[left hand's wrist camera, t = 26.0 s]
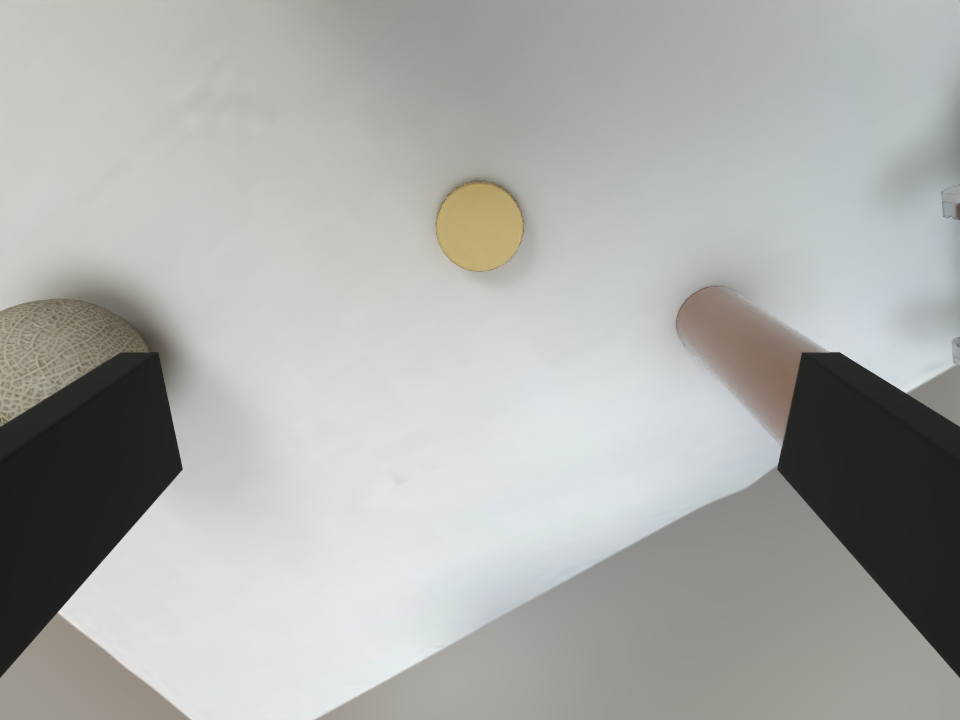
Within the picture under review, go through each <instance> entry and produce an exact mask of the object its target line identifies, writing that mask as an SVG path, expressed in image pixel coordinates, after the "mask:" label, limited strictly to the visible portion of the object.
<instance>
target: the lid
mask: <svg viewBox="0 0 960 720" xmlns="http://www.w3.org/2000/svg"><path fill="white" fill-rule="evenodd" d="M441 206H442V207H441V209H440V211H438V213H437V215H438V218H437V221H436V235H437V238H438V241H439V244H440V246H441V248H442V250H443V252H444V253H445V254H446V256H447V257H448V258H449V259H450V260H451V261H452V262H454V263H455V264H456V265H458V266H460V267H462V268H464V269H467V270H471V271H488V270H492V269H495V268H497V267H499V266H501V265H503V264H504V263H506V262H507V261H508V260H509V259H510V258H512V256H513V255H514V254H515V252H516V251H517V250H518V247H519V245H520V242H521V241H522V240H521V239H522V234H523V232H524V230H523V222H524V221H523V219H522V216H521V210H520V209H519V208H518V206H517V201H516V200H514V199H513V198H512V196H511V193H510V192H509V193H508V192H506V191H505V190H504V189H503V187H502V186H501V187H499V186H497V185H495V184H494V183H493V182H492V183H488V182H484V180H483V182H475V181H473V182H471V183H468V184H465V183H464V184H463V185H462V186H460V187H459V188H455V189H454V191H453V192H452V193H451V194H450V195H449V194H448V195H447V198H446V200H445V201H444V202H442V204H441Z"/></svg>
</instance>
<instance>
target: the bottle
mask: <svg viewBox="0 0 960 720" xmlns="http://www.w3.org/2000/svg"><path fill="white" fill-rule="evenodd" d="M676 327H677V333H678V336H679V338H680V340H681V341H682V343H683V344H684V345H685V346H686V347H687V348H688V349H689V350H690V351H691V352H692V353H693V354H694V356H695V357H696V358H697V359H698V360H699V361H700V362H701V363H702V364H703V365H704V366H705V367H706V368H707V369H708V370H709V371H710V372H711V373H712V374H713V376H714V377H715V378H716V379H717V380H718V381H719V382H720V383H721V384H722V385H723V386H724V387H725V388H726V389H727V390H728V391H729V392H730V393H731V394H732V396H733V397H734V398H735V399H736V400H737V401H738V402H739V403H740V404H741V405H742V406H743V407H744V408H745V409H746V410H747V411H748V412H749V413H750V414H751V416H752V417H753V418H754V419H755V420H756V421H757V422H758V423H759V424H760V425H761V426H762V427H763V428H764V429H765V430H766V431H767V432H768V433H769V434H770V436H771V437H772V438H773V439H774V440H775V441H776V442H777V443H778V444H779V445H780V446H781V447H782V445H783V440H784V435H785V430H786V426H787V421H788V416H789V411H790V407H791V402H792V397H793V392H794V388H795V383H796V378H797V373H798V369H799V364H800V359H801V354H802V352H830V351H828V350H827V349H825V348H823V347H822V346H820V345H819V344H817V343H816V342H814V341H812V340H811V339H809V338H808V337H806V336H804V335H803V334H801V333H800V332H798V331H797V330H795V329H793V328H792V327H790V326H789V325H787V324H786V323H784V322H782V321H781V320H779V319H778V318H776V317H774V316H773V315H771V314H770V313H768V312H767V311H765V310H763V309H762V308H760V307H759V306H757V305H756V304H754V303H752V302H751V301H749V300H748V299H746V298H745V297H743V296H741V295H740V294H738V293H737V292H735V291H733V290H731V289H729V288H726V287H720V286H714V287H708V288H705V289H702V290H700V291H698V292H696V293H694V294H693V295H692V296H690V297H689V298H688V299H687V300H686V301H685V303H684V304H683V305H682V307H681V309H680V311H679V313H678V317H677V322H676Z"/></svg>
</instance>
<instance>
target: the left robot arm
mask: <svg viewBox="0 0 960 720" xmlns="http://www.w3.org/2000/svg"><path fill="white" fill-rule="evenodd" d="M182 470H183V468H182V464H181V459H180V454H179V449H178V445H177V440H176V435H175V430H174V426H173V421H172V416H171V411H170V407H169V402H168V397H167V392H166V388H165V383H164V378H163V373H162V369H161V364H160V359H159V354H158V352H120V353H119V354H117V355H115V356H114V357H112V358H111V359H109V360H107V361H106V362H104V363H103V364H101V365H99V366H98V367H96V368H94V369H93V370H91V371H90V372H88V373H86V374H85V375H83V376H82V377H80V378H78V379H77V380H75V381H73V382H72V383H70V384H69V385H67V386H65V387H64V388H62V389H61V390H59V391H57V392H56V393H54V394H52V395H51V396H49V397H48V398H46V399H44V400H43V401H41V402H40V403H38V404H36V405H35V406H33V407H31V408H30V409H28V410H27V411H25V412H23V413H22V414H20V415H19V416H17V417H15V418H14V419H12V420H10V421H9V422H7V423H6V424H4V425H2V426H1V427H0V677H1V676H2V675H3V674H4V673H5V672H6V671H7V669H8V668H9V667H10V666H11V665H12V664H13V663H14V661H15V660H16V659H17V658H18V657H19V656H20V655H21V653H22V652H23V651H24V650H25V649H26V648H27V647H28V645H29V644H30V643H31V642H32V641H33V640H34V639H35V637H36V636H37V635H38V634H39V633H40V632H41V631H42V629H43V628H44V627H45V626H46V625H47V624H48V623H49V621H50V620H51V619H52V618H53V617H54V616H55V615H56V613H57V612H58V611H59V610H60V609H61V608H62V607H63V605H64V604H65V603H66V602H67V601H68V600H69V599H70V597H71V596H72V595H73V594H74V593H75V592H76V591H77V589H78V588H79V587H80V586H81V585H82V584H83V583H84V581H85V580H86V579H87V578H88V577H89V576H90V575H91V573H92V572H93V571H94V570H95V569H96V568H97V567H98V566H99V564H100V563H101V562H102V561H103V560H104V559H105V558H106V556H107V555H108V554H109V553H110V552H111V551H112V550H113V548H114V547H115V546H116V545H117V544H118V543H119V542H120V540H121V539H122V538H123V537H124V536H125V535H126V534H127V532H128V531H129V530H130V529H131V528H132V527H133V526H134V524H135V523H136V522H137V521H138V520H139V519H140V518H141V516H142V515H143V514H144V513H145V512H146V511H147V510H148V508H149V507H150V506H151V505H152V504H153V503H154V502H155V500H156V499H157V498H158V497H159V496H160V495H161V494H162V492H163V491H164V490H165V489H166V488H167V487H168V486H169V484H170V483H171V482H172V481H173V480H174V479H175V478H176V476H177V475H178V474H179V473H180V472H181V471H182ZM777 470H778V471H779V472H780V473H781V474H782V475H783V476H784V478H785V479H786V480H787V481H788V482H789V483H790V484H791V486H792V487H793V488H794V489H795V490H796V491H797V492H798V494H799V495H800V496H801V497H802V498H803V499H804V500H805V502H806V503H807V504H808V505H809V506H810V507H811V508H812V510H813V511H814V512H815V513H816V514H817V515H818V516H819V518H820V519H821V520H822V521H823V522H824V523H825V524H826V526H827V527H828V528H829V529H830V530H831V531H832V532H833V534H834V535H835V536H836V537H837V538H838V539H839V540H840V542H841V543H842V544H843V545H844V546H845V547H846V548H847V550H848V551H849V552H850V553H851V554H852V555H853V556H854V557H855V559H856V560H857V561H858V562H859V563H860V564H861V565H862V567H863V568H864V569H865V570H866V571H867V572H868V573H869V575H870V576H871V577H872V578H873V579H874V580H875V581H876V583H877V584H878V585H879V586H880V587H881V588H882V589H883V591H884V592H885V593H886V594H887V595H888V596H889V597H890V599H891V600H892V601H893V602H894V603H895V604H896V605H897V607H898V608H899V609H900V610H901V611H902V612H903V613H904V615H905V616H906V617H907V618H908V619H909V620H910V621H911V623H912V624H913V625H914V626H915V627H916V628H917V629H918V631H919V632H920V633H921V634H922V635H923V636H924V637H925V639H926V640H927V641H928V642H929V643H930V644H931V645H932V647H933V648H934V649H935V650H936V651H937V652H938V653H939V654H940V656H941V657H942V658H943V659H944V660H945V661H946V663H947V664H948V665H949V666H950V667H951V668H952V669H953V671H954V672H955V673H956V674H957V675H958V676H959V677H960V427H959V426H958V425H956V424H954V423H953V422H951V421H950V420H948V419H946V418H945V417H943V416H941V415H940V414H938V413H937V412H935V411H933V410H932V409H930V408H929V407H927V406H925V405H924V404H922V403H920V402H919V401H917V400H916V399H914V398H912V397H911V396H909V395H908V394H906V393H904V392H903V391H901V390H899V389H898V388H896V387H895V386H893V385H891V384H890V383H888V382H887V381H885V380H883V379H882V378H880V377H878V376H877V375H875V374H874V373H872V372H870V371H869V370H867V369H866V368H864V367H862V366H861V365H859V364H857V363H856V362H854V361H853V360H851V359H849V358H848V357H846V356H845V355H843V354H841V353H840V352H802V354H801V359H800V364H799V369H798V373H797V378H796V383H795V388H794V392H793V397H792V402H791V407H790V411H789V416H788V421H787V426H786V430H785V435H784V440H783V445H782V449H781V454H780V459H779V464H778V469H777Z"/></svg>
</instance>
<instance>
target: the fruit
mask: <svg viewBox="0 0 960 720" xmlns="http://www.w3.org/2000/svg"><path fill="white" fill-rule="evenodd" d="M120 352H149V349H148V347H147V345H146V343H145V341H144V340H143V339H142V338H141V336H140V335H139V334H138V333H137V332H136V331H135V329H134V328H133V327H132V326H131V325H129V324H128V323H127V322H126V321H124V320H123V319H122V318H120V317H119V316H117V315H115V314H113V313H111V312H110V311H108V310H106V309H104V308H102V307H99V306H96V305H94V304H90V303H86V302H82V301H77V300H67V299H51V300H40V301H33V302H28V303H24V304H20V305H17V306H13V307H10V308H8V309H5V310H3V311H0V427H1V426H2V425H4V424H6V423H7V422H9V421H10V420H12V419H14V418H15V417H17V416H19V415H20V414H22V413H23V412H25V411H27V410H28V409H30V408H31V407H33V406H35V405H36V404H38V403H40V402H41V401H43V400H44V399H46V398H48V397H49V396H51V395H52V394H54V393H56V392H57V391H59V390H61V389H62V388H64V387H65V386H67V385H69V384H70V383H72V382H73V381H75V380H77V379H78V378H80V377H82V376H83V375H85V374H86V373H88V372H90V371H91V370H93V369H94V368H96V367H98V366H99V365H101V364H103V363H104V362H106V361H107V360H109V359H111V358H112V357H114V356H115V355H117V354H119V353H120Z"/></svg>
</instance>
